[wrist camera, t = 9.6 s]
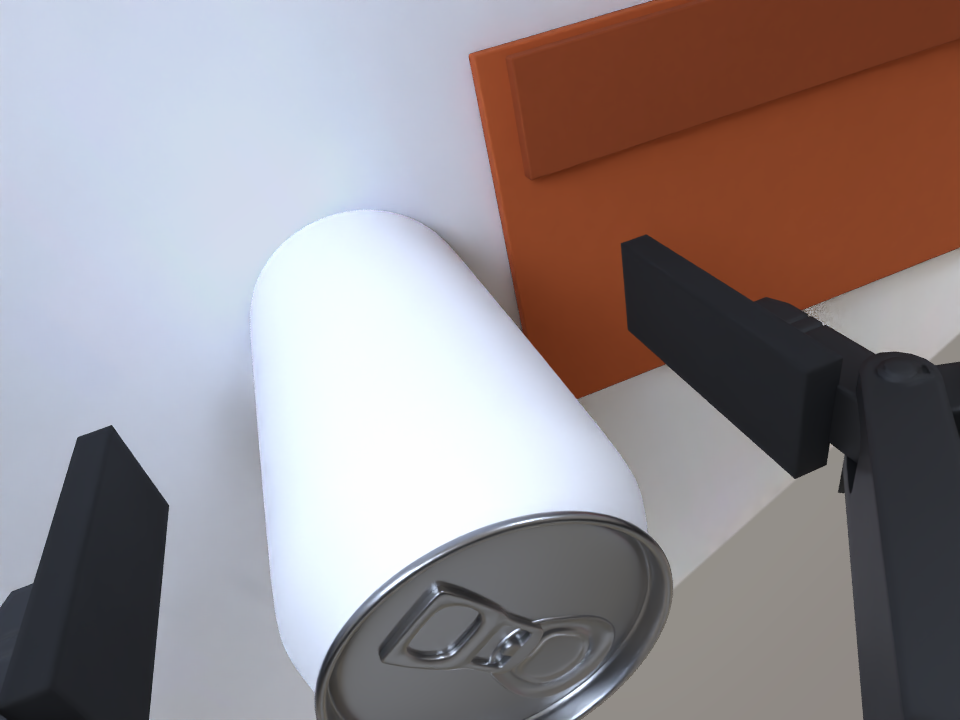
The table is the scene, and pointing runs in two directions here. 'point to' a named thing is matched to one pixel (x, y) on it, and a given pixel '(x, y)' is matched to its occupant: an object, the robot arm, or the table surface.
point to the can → (437, 492)
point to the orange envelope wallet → (719, 157)
